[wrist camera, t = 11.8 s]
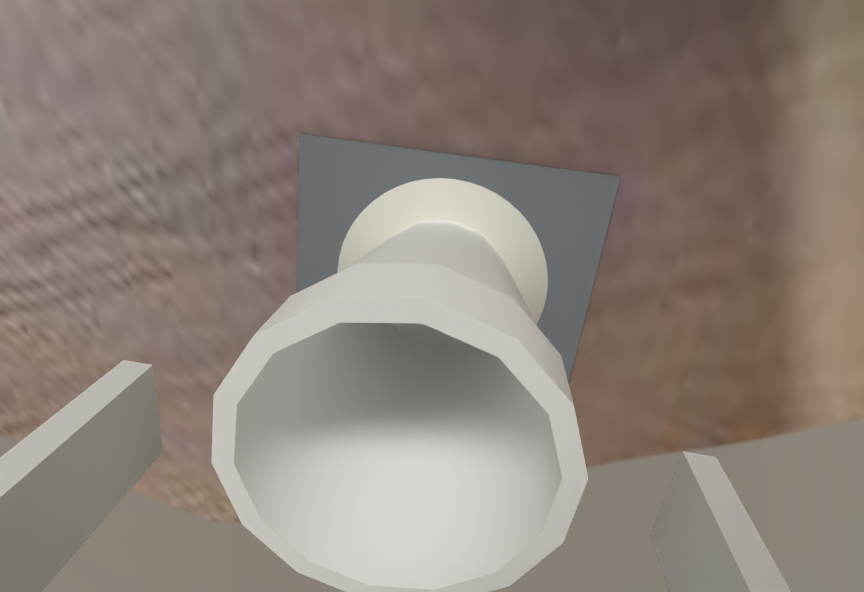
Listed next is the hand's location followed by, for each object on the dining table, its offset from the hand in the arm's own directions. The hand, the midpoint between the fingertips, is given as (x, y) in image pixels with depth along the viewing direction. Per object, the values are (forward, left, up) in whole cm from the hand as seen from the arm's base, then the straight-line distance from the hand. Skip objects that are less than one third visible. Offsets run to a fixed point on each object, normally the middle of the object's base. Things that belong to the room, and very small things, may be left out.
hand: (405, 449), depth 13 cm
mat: (0, 0, -13) cm, 13 cm away
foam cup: (0, 0, -13) cm, 13 cm away
